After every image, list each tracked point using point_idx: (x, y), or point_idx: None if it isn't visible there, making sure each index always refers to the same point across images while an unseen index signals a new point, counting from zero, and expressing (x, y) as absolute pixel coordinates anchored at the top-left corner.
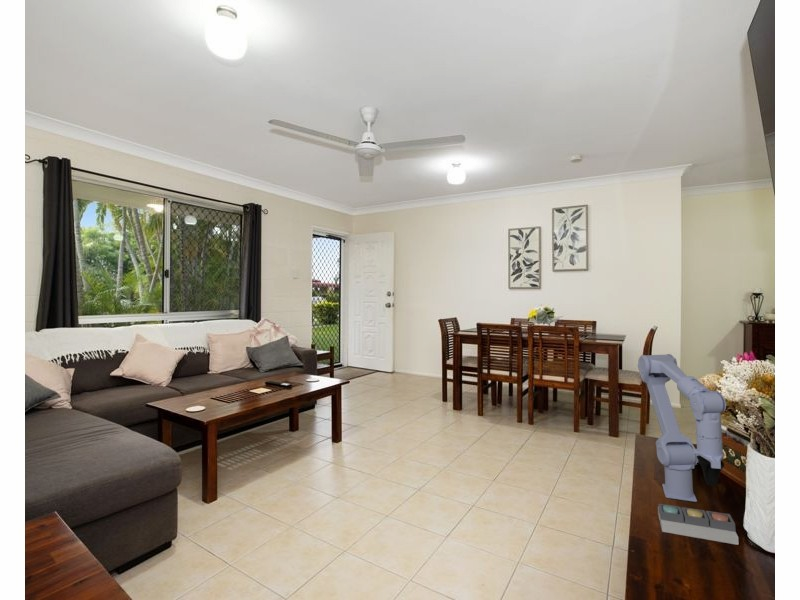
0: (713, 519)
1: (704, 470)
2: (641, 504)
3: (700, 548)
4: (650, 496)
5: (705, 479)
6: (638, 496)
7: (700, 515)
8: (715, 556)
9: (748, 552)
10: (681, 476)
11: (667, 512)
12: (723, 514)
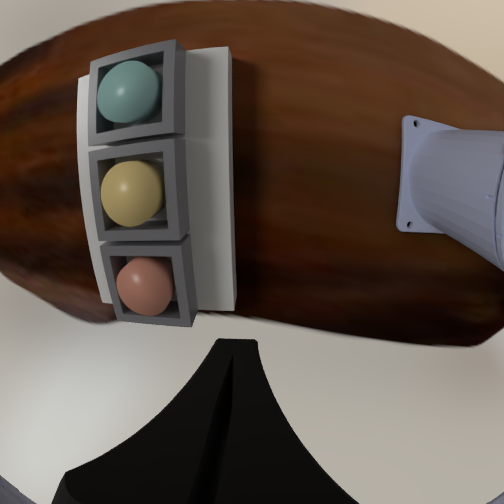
0: (133, 259)
1: (142, 432)
2: (298, 11)
3: (51, 188)
4: (393, 60)
5: (215, 360)
6: (372, 18)
7: (110, 215)
8: (38, 220)
9: (92, 300)
10: (470, 199)
11: (96, 84)
12: (160, 306)
